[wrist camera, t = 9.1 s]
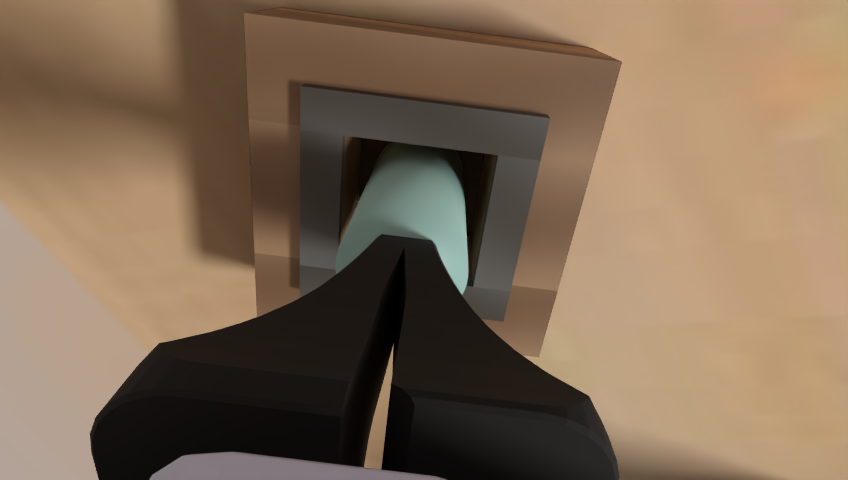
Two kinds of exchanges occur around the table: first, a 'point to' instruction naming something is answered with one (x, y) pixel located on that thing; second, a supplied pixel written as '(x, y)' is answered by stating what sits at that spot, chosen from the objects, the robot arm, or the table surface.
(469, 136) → the socket
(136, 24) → the table surface
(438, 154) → the peg
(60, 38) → the table surface
